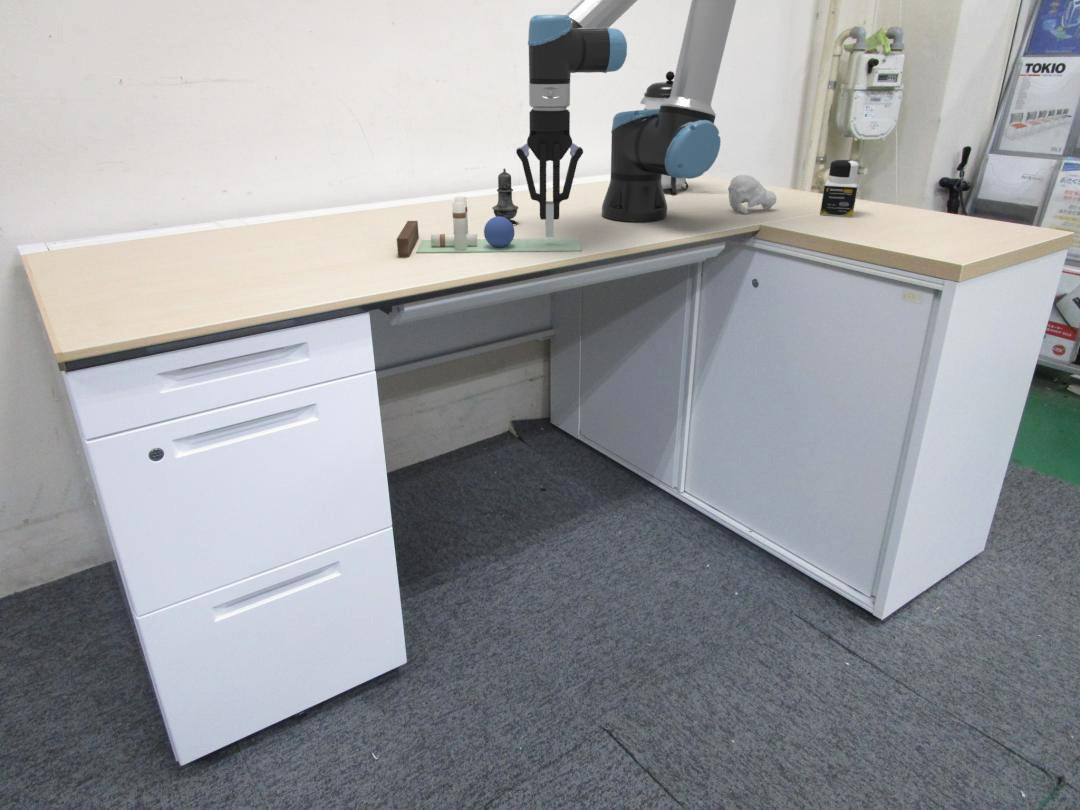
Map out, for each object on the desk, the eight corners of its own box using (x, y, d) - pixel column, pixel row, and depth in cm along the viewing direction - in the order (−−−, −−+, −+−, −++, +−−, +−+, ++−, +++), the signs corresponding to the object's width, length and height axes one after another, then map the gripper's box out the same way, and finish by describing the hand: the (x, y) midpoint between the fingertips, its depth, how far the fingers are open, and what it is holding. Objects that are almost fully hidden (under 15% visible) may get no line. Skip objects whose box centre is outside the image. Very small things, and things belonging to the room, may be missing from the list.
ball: (477, 227, 149) (499, 246, 152) (478, 239, 144) (501, 258, 147) (497, 205, 147) (519, 225, 149) (498, 217, 142) (521, 236, 144)
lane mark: (577, 239, 154) (577, 238, 154) (581, 251, 145) (581, 250, 145) (421, 240, 153) (421, 240, 153) (416, 253, 144) (416, 252, 144)
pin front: (476, 232, 149) (431, 232, 148) (476, 236, 146) (430, 237, 146) (477, 243, 150) (432, 244, 149) (477, 248, 148) (431, 249, 147)
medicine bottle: (819, 215, 174) (828, 162, 169) (821, 209, 180) (829, 158, 175) (852, 217, 172) (861, 163, 167) (853, 211, 178) (862, 159, 173)
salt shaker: (515, 226, 165) (514, 170, 160) (489, 225, 166) (487, 169, 161) (521, 221, 170) (520, 166, 165) (496, 220, 171) (494, 166, 166)
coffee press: (647, 197, 196) (654, 72, 183) (628, 187, 211) (633, 70, 198) (708, 194, 200) (720, 71, 187) (686, 184, 214) (695, 70, 201)
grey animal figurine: (728, 172, 177) (773, 175, 180) (721, 208, 181) (765, 211, 184) (740, 176, 172) (786, 179, 175) (733, 214, 175) (779, 216, 178)
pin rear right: (469, 241, 152) (467, 196, 149) (468, 244, 150) (466, 198, 146) (457, 241, 152) (454, 196, 148) (456, 244, 150) (453, 199, 146)
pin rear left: (467, 248, 148) (465, 201, 144) (466, 251, 145) (464, 204, 141) (455, 248, 147) (452, 201, 144) (454, 251, 145) (451, 204, 141)
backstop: (418, 237, 156) (417, 220, 154) (408, 257, 141) (407, 238, 140) (409, 237, 156) (407, 220, 154) (398, 257, 141) (396, 238, 140)
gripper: (514, 110, 135) (516, 240, 145) (586, 109, 135) (583, 239, 145) (514, 107, 141) (516, 232, 152) (583, 106, 142) (580, 231, 152)
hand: (549, 235), depth 148 cm, fingers closed
